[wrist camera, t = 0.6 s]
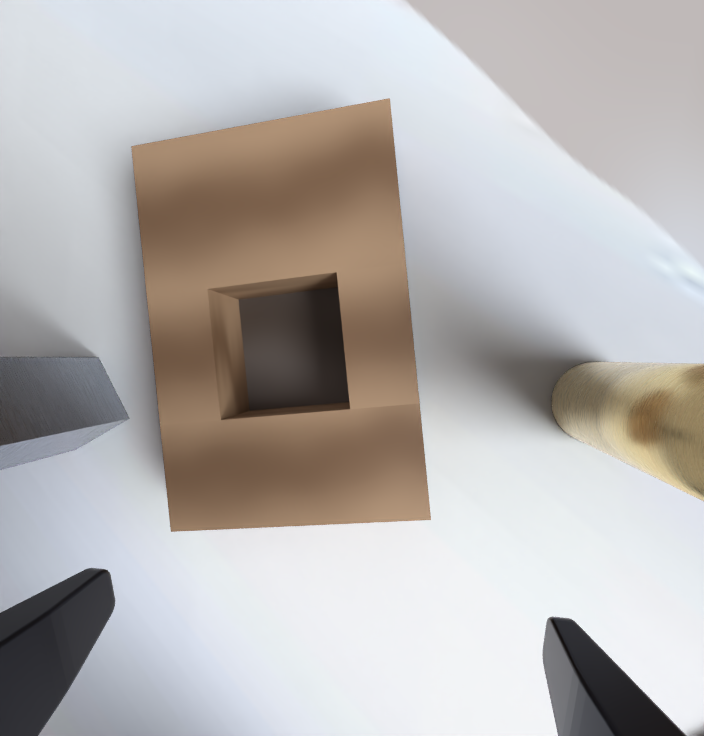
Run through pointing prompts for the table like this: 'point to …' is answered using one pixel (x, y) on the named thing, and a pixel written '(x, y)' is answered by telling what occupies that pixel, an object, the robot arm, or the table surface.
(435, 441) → the table surface
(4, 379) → the grey rectangular block
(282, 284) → the bore block
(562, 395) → the brass pin
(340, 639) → the table surface
